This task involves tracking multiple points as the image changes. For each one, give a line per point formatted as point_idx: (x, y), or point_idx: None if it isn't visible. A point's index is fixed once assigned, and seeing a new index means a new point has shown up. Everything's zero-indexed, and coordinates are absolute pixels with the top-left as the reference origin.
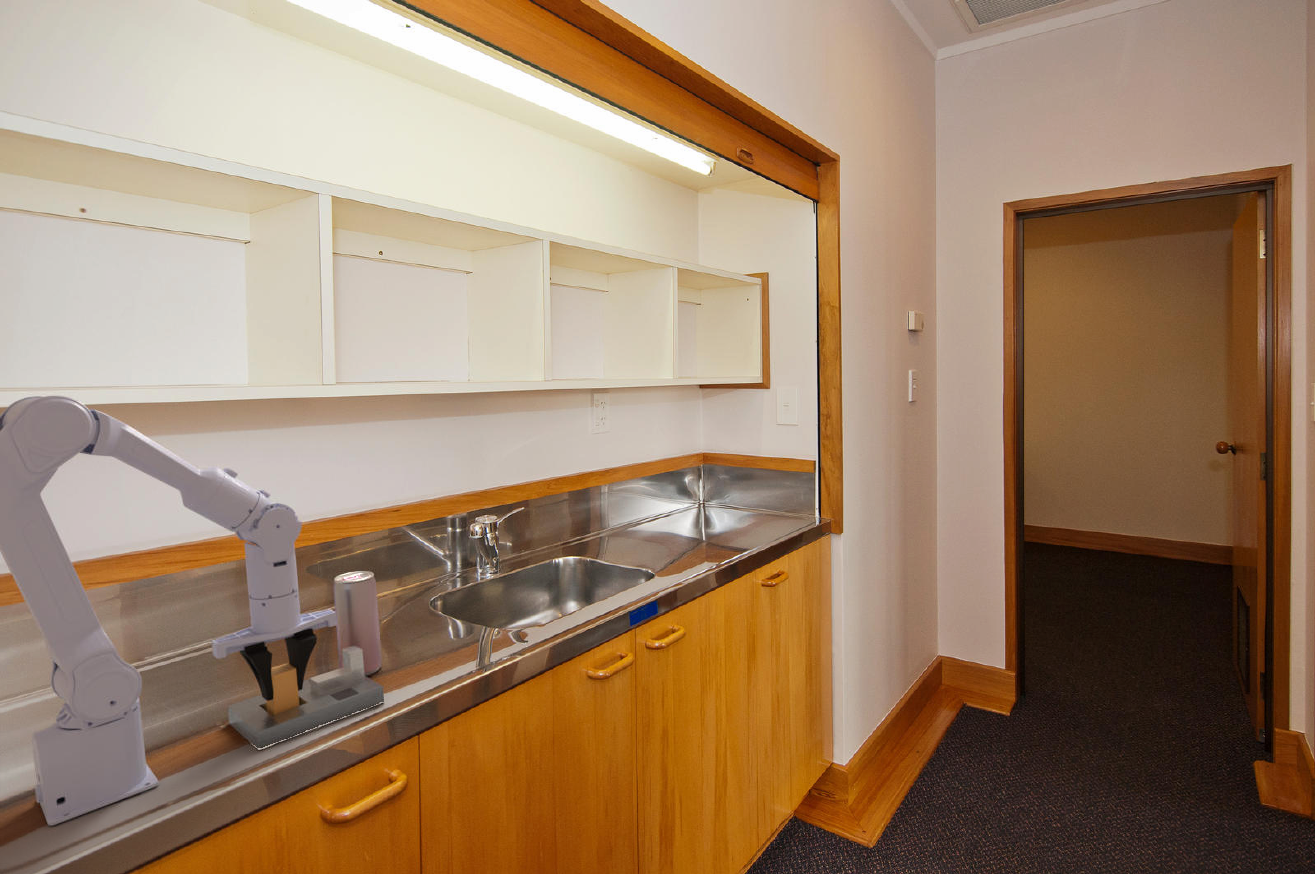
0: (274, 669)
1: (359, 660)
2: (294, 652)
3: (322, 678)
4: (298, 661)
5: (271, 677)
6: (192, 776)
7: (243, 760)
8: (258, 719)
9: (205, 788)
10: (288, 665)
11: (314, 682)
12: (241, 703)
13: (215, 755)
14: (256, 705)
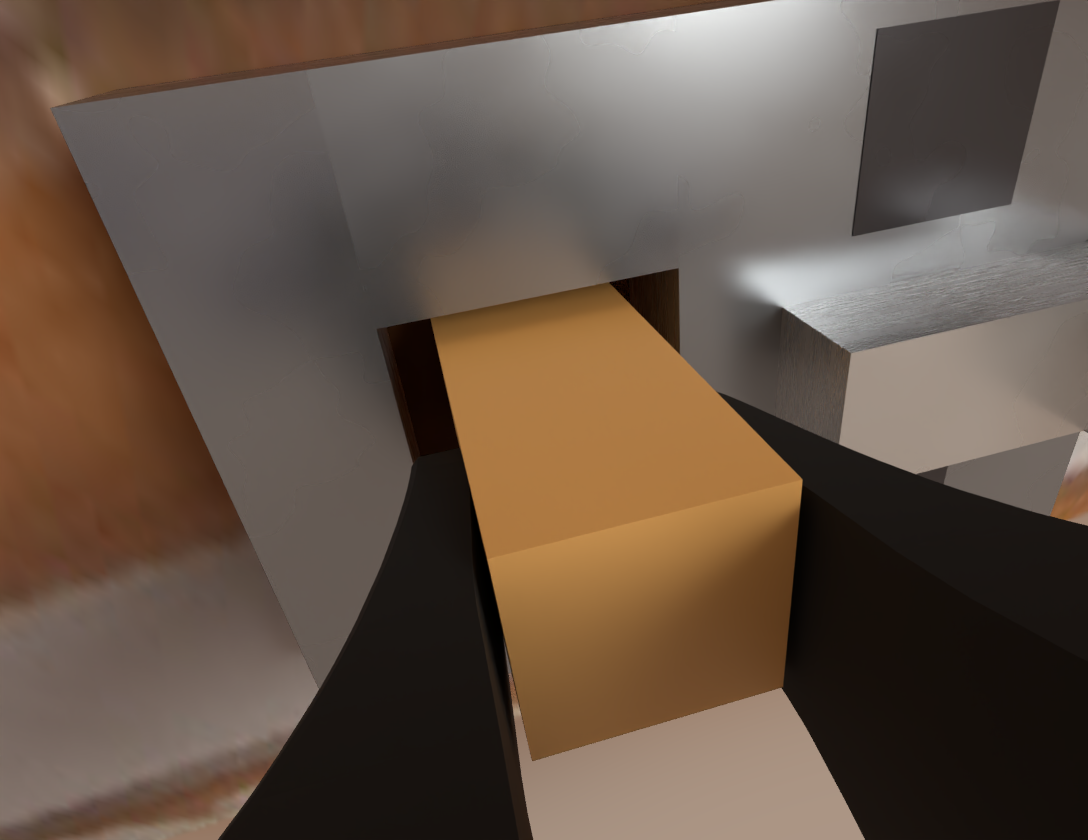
0: (610, 601)
1: None
2: (926, 821)
3: (903, 427)
4: (846, 792)
5: (522, 787)
6: (2, 710)
7: (261, 673)
8: (353, 578)
9: (102, 810)
10: (772, 574)
11: (831, 439)
12: (211, 157)
13: (93, 562)
14: (356, 314)
